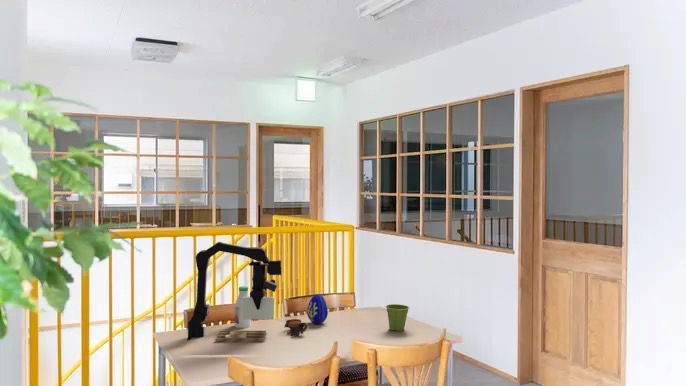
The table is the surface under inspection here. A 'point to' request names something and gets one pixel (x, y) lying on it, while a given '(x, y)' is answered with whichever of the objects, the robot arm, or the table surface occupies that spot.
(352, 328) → the table surface
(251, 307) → the sage board
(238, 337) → the lower pine offcut
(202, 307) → the robot arm
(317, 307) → the ornament
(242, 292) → the milk bottle
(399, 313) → the plant pot
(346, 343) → the table surface
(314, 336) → the table surface
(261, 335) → the walnut rack
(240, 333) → the upper pine offcut
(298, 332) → the pottery mug
